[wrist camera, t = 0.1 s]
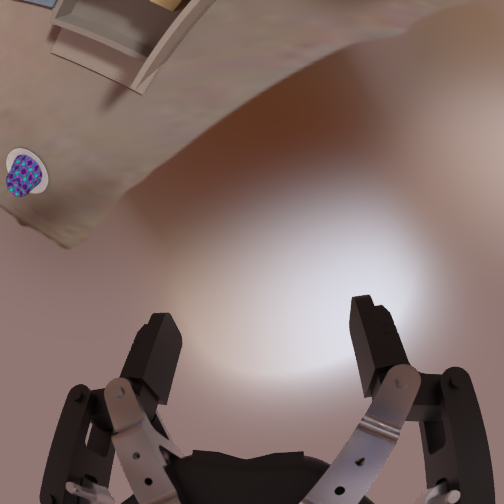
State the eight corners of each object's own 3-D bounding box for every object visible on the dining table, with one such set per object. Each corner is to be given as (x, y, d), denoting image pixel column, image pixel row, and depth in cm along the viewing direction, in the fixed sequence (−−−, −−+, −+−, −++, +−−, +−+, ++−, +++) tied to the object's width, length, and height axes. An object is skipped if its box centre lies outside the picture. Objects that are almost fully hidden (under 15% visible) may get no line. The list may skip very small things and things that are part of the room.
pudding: (3, 171, 37) (-9, 188, 34) (16, 135, 31) (0, 152, 28) (40, 199, 45) (30, 217, 42) (57, 168, 39) (45, 187, 36)
